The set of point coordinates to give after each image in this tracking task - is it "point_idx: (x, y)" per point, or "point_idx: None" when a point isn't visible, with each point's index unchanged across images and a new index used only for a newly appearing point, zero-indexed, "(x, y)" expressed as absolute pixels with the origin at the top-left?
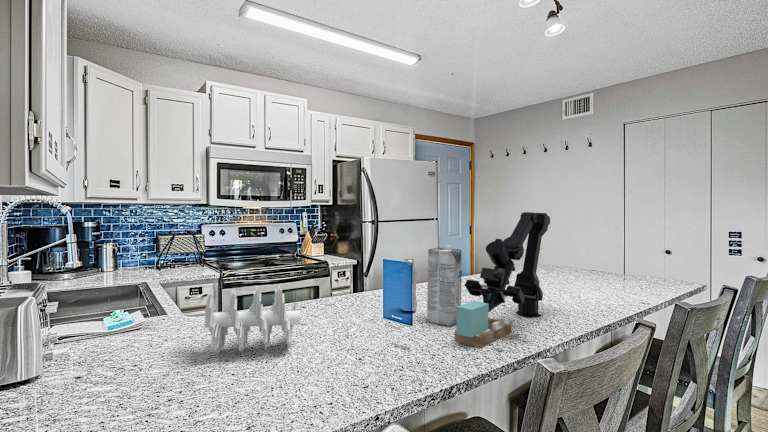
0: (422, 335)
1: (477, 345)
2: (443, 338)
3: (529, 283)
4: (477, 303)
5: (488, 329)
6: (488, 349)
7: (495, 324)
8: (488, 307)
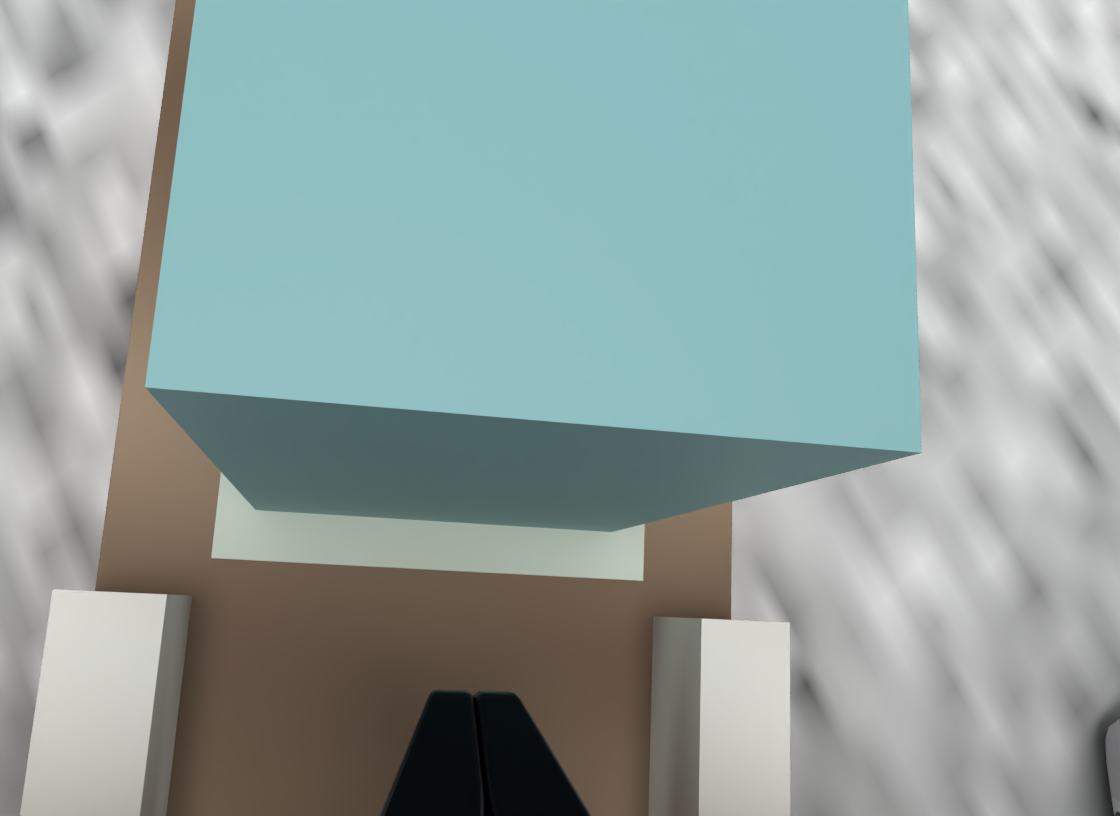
0: (1103, 90)
1: None
2: None
3: None
4: (584, 100)
5: (256, 531)
6: (76, 96)
7: (70, 592)
8: (177, 411)
